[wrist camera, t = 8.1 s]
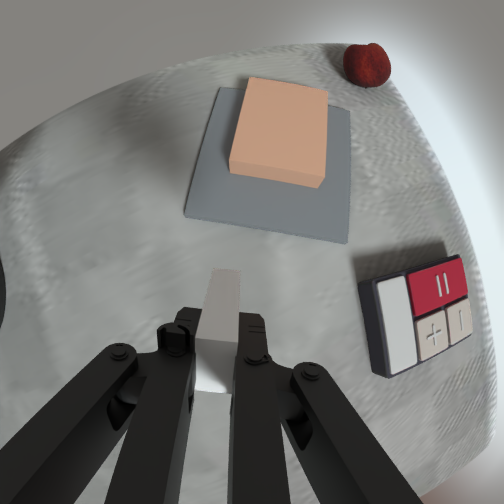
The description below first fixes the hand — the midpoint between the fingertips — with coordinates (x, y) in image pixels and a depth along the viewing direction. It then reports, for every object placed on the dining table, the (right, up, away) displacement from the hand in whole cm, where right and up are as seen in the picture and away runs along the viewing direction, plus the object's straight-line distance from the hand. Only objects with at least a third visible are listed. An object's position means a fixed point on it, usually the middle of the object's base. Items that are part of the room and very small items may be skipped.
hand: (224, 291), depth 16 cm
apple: (+19, +29, +20) cm, 40 cm away
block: (+4, +10, +13) cm, 17 cm away
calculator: (+22, -5, +14) cm, 26 cm away
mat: (+5, +14, +16) cm, 22 cm away
